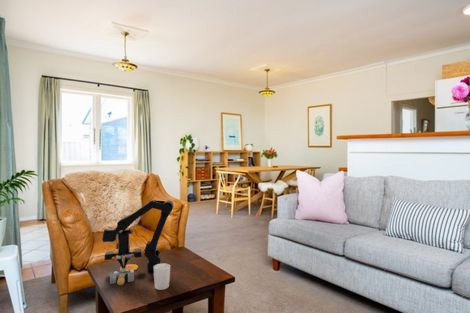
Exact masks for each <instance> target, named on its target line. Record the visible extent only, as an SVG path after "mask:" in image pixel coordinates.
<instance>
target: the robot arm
mask: <svg viewBox="0 0 470 313" xmlns="http://www.w3.org/2000/svg"><path fill="white" fill-rule="evenodd" d="M174 206H175V204H174V202H173V201H172V200H169V199H168V200H157V199H156V200H155V199H151V200H149V202H147V203H145V205H143V206H142V207H140V208H139V209H137V210H136V211H134V212H133V213H131V214H129V215H126V216H123V217H122V218H121V219H120V220H118V221H117V224H116V227H115V228H113V229H109V228H105V229H104V230H103V234H102V237H101V238H102V242H103V243H115V242H116V241H117V243H116V245H115V247H116V250H117V252H114V250H111V251H106V252H105V253H104V261H111V260H112V259H113V258H116V259H115V260H116V262H118V263H119V264H120V267H121V268H127V263H129V260H131V259H132V256H133V257H134V258H142V255H143V253H144V257H145V258H147V263H146V264H147V267H146V268H147V271H148V274H152V273H153V274H154V266H155V265H157V264H161V257H160V256H161V253H162V252H161V251H160V250H158V245H159V240H160V239H161V238H160V237H161V235H162V232H163V230H164V227H165V225H166V221H167V220H168V218H169V216H170V215H171V213H172V211H173V209H174ZM152 209H153V210H154V209H155V210H158V211H160V215H159V216H160V217H159V220H158V221H157V222H158V223H157V225H156V228H155V229H154V230H155V231H154V233H153V236H152V237H151V240H147V242H146V244H145V247H144V249H143V250H142V248H137V249H134V250H133V251H131V247H130V235H132V234H133V233H134V230H133V229H131V228H130V226H131V225H132V224H133V223H134V222H135V221H136V220H138V219H139V218H141V217H142V216H144V215H145V214H146V213H148V212H149V211H151V210H152Z"/></svg>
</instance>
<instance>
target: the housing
mask: <svg viewBox="0 0 470 313" xmlns="http://www.w3.org/2000/svg"><path fill="white" fill-rule="evenodd" d="M122 274H125V275H127V282H128V283H129V282H134V280H135V270H134V269H133V270H131V269H128V270H126V271H123V272H120V271H118V270H117V271H114V272H110V273H109V284H110V285H112V284H117V281H118V276H119V275H122Z"/></svg>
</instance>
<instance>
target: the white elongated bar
mask: <svg viewBox="0 0 470 313" xmlns="http://www.w3.org/2000/svg"><path fill="white" fill-rule="evenodd" d="M123 271H127V267H125V268H122V267H121V268H120V271H119V272H123ZM125 279H126V274H122V275H118V276H117V281H116V284H117V285H118V286H123V285H124V283H125V281H126V280H125Z"/></svg>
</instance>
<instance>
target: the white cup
mask: <svg viewBox="0 0 470 313" xmlns="http://www.w3.org/2000/svg"><path fill="white" fill-rule="evenodd" d="M170 277H171V265H170V263H164V262H163V263H160V264H157V265H155V266H154V272H153V279H154V280H153V281H154V288H155V289H156V290H159V291H162V290H163V291H164V290H167V289H168V288H169V286H170V280H171V278H170Z"/></svg>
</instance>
